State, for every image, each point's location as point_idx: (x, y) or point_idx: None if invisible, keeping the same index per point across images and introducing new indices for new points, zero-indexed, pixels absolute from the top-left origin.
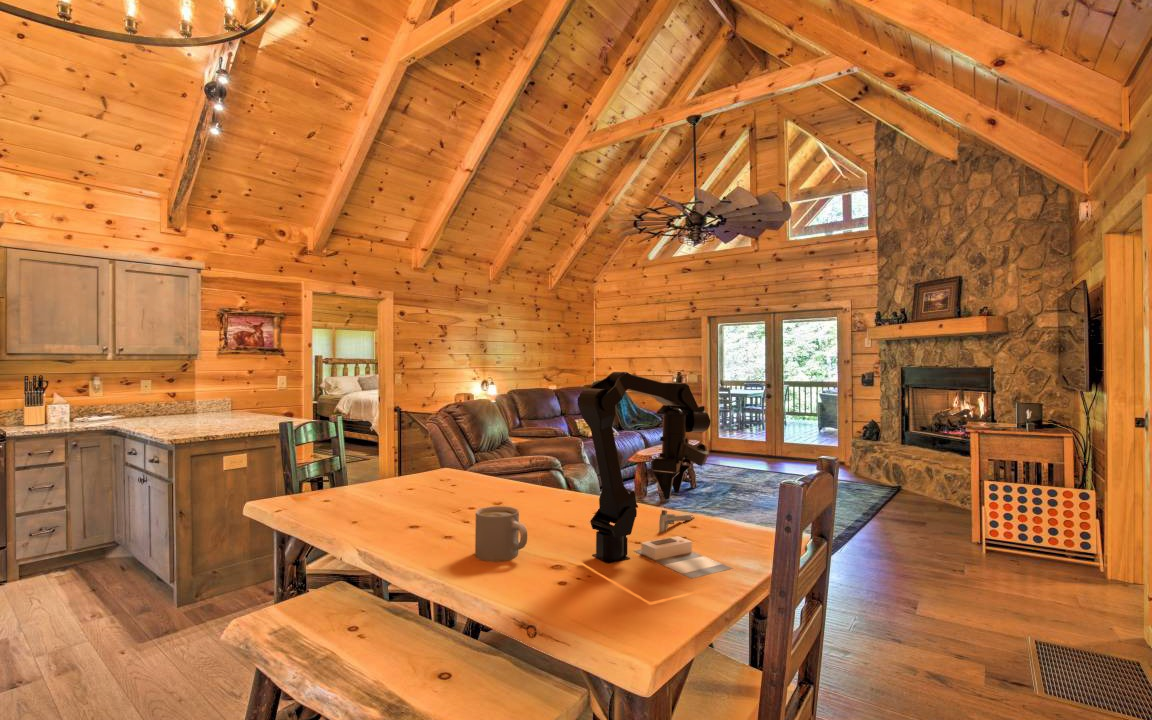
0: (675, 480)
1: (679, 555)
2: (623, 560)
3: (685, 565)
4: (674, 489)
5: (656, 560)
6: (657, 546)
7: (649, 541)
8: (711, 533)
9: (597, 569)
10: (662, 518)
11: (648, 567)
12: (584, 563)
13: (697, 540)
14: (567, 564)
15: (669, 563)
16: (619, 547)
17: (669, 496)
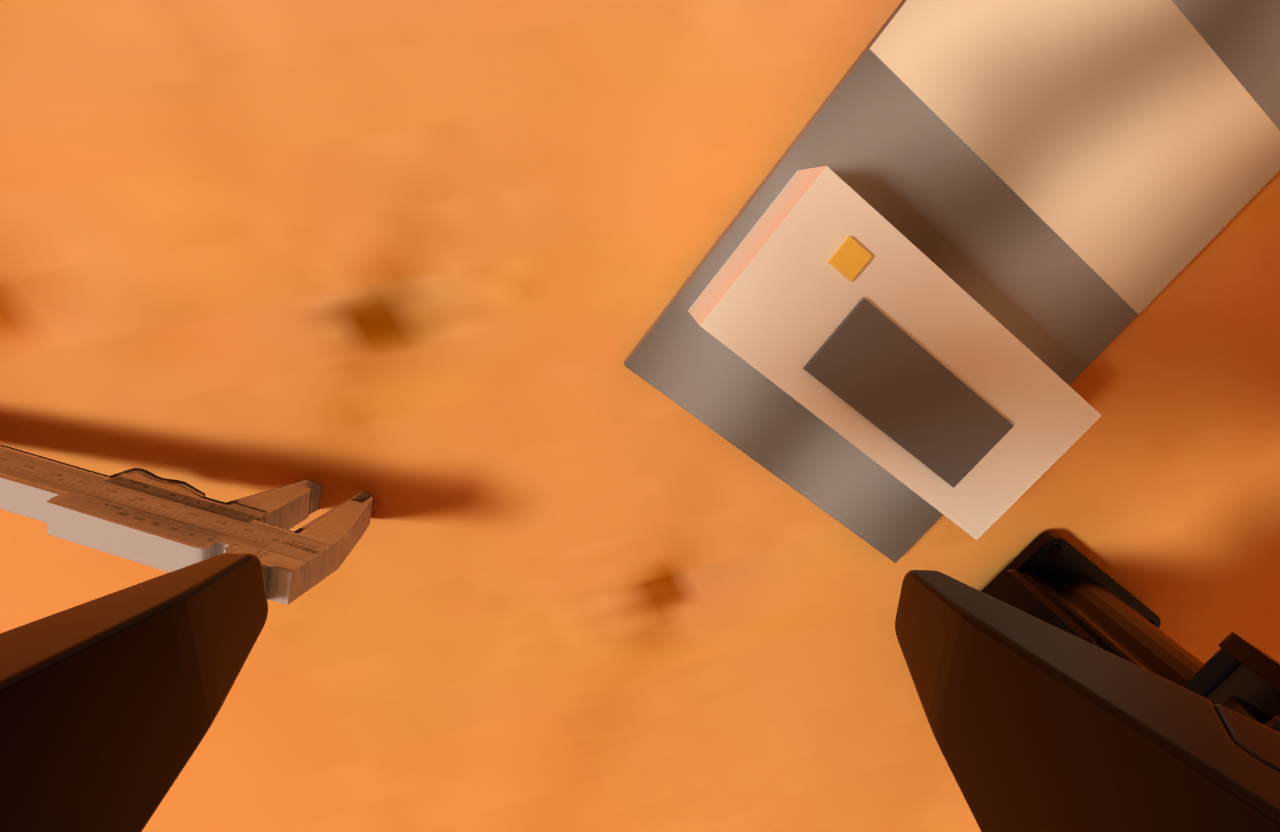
0: (70, 806)
1: None
2: (1088, 560)
3: (1122, 157)
4: (242, 656)
5: None
6: (1042, 412)
7: (928, 497)
8: (88, 99)
9: (1212, 636)
10: (316, 563)
11: (1138, 398)
12: None
13: (392, 193)
14: None
15: (1098, 280)
16: (1159, 631)
17: (974, 590)
